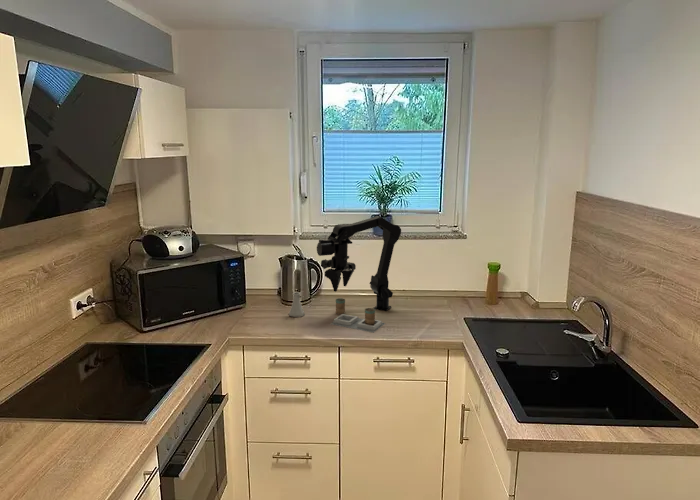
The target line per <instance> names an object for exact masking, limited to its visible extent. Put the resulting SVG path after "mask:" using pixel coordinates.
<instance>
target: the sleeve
mask: <svg viewBox="0 0 700 500" xmlns="http://www.w3.org/2000/svg"><path fill="white" fill-rule="evenodd" d="M335 313H336V314H338V315H341V314H345V313H346V298H343V297H342V298H341V297H340V298H339V297H338V298H335Z"/></svg>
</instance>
